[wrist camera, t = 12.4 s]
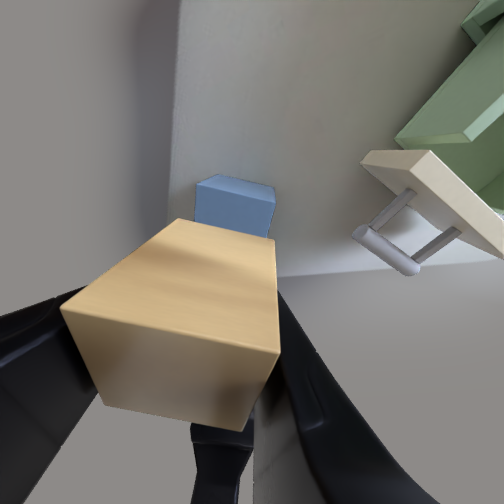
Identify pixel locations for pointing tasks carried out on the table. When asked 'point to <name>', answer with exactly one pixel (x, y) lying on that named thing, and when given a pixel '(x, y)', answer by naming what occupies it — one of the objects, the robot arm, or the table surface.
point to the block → (183, 325)
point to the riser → (235, 205)
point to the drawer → (449, 162)
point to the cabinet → (483, 19)
